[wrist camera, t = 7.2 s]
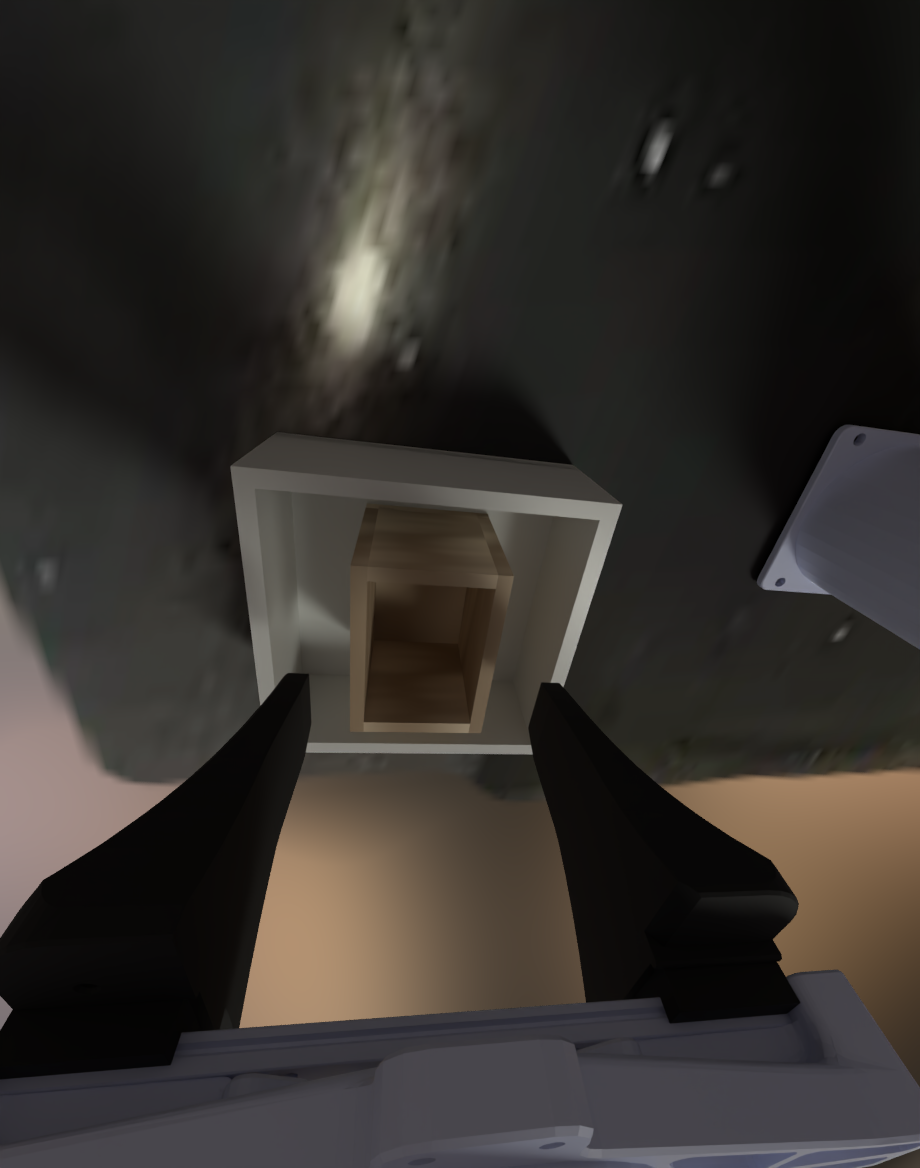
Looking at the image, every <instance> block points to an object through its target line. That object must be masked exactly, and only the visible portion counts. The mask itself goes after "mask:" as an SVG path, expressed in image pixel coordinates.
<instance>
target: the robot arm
mask: <svg viewBox="0 0 920 1168" xmlns="http://www.w3.org/2000/svg"><path fill="white" fill-rule="evenodd" d="M857 435H858V437H857V439H856V440H855V442H854V439H855V438H856V436H857ZM778 579H779V580H778ZM777 580H778V581H777ZM776 581H777V582H776ZM757 584H758V585H759V586H760V587H761V588H763V589H765V590H777V591H791V592H805V593H819V594H831V595H833V596H834V597H836V598H838V599H839V600H841V601H843V602H844V603H846V604H847V605H849V606H851V607H852V608H854V609H855V610H857V611H859V612H860V613H862V614H864V615H865V616H867V617H868V618H870V619H872V620H873V621H875V622H876V623H878V624H880V625H881V626H883V627H885V628H886V629H888V630H889V631H891V632H893V633H894V634H896V635H897V636H899V637H901V638H902V639H904V640H905V641H907V642H909V643H910V644H912V645H914V646H915V647H917V648H918V649H920V434H914V433H906V432H899V431H892V430H885V429H878V428H870V427H863V426H856V425H844V426H842V427H840V428H839V429H838V430H836V431H835V433H834V434H833V436H832V438H831V440H830V442H829V443H828V445H827V447H826V449H825V451H824V453H823V455H822V457H821V459H820V461H819V462H818V464H817V466H816V468H815V470H814V472H813V474H812V476H811V478H810V480H809V482H808V483H807V485H806V487H805V489H804V491H803V493H802V495H801V497H800V499H799V501H798V502H797V504H796V506H795V508H794V510H793V512H792V514H791V516H790V518H789V520H788V521H787V523H786V525H785V527H784V529H783V531H782V533H781V535H780V537H779V539H778V540H777V542H776V544H775V546H774V548H773V550H772V552H771V554H770V556H769V558H768V559H767V561H766V563H765V565H764V567H763V569H762V571H761V573H760V575H759V577H758V579H757ZM311 723H312V722H311V702H310V682H309V674H303V673H287V674H286V675H284V677H283V678H282V679H281V681H280V682H279V683H278V685H277V686H276V687H275V688H274V690H273V691H272V692H271V694H270V695H269V696H268V697H267V698H266V700H265V701H264V702H263V703H262V705H261V706H260V707H259V708H258V709H257V710H256V711H255V713H254V714H253V715H252V716H251V717H250V718H249V719H248V721H247V722H246V723H245V724H244V725H243V726H242V727H241V728H240V729H239V731H238V732H237V733H236V734H235V735H234V736H233V737H232V738H231V739H230V740H229V741H228V742H227V743H226V744H225V745H224V746H223V747H222V748H221V749H220V750H219V751H218V752H217V753H216V754H215V755H214V756H213V757H212V758H211V759H210V760H209V761H207V762H206V763H205V764H204V765H203V766H202V767H201V768H200V769H199V770H198V771H196V772H195V773H194V774H193V775H192V776H191V777H190V778H189V779H187V780H186V781H185V782H184V783H183V784H181V785H180V786H179V787H178V788H176V789H175V790H174V791H173V792H172V793H170V794H169V795H168V796H167V797H166V798H164V799H163V800H162V801H160V802H159V803H158V804H157V805H155V806H154V807H153V808H151V809H150V810H149V811H147V812H146V813H145V814H143V815H142V816H140V817H139V818H138V819H136V820H135V821H134V822H132V823H131V824H129V825H128V826H127V827H125V828H124V829H122V830H121V831H119V832H118V833H117V834H115V835H114V836H112V837H111V838H109V839H108V840H107V841H105V842H104V843H102V844H101V845H99V846H98V847H96V848H94V849H93V850H91V851H90V852H88V853H86V854H85V855H83V856H82V857H80V858H79V859H77V860H75V861H74V862H72V863H70V864H69V865H67V866H66V867H64V868H63V869H61V870H59V871H58V872H56V873H54V874H53V875H51V876H50V877H48V878H46V879H44V880H43V881H42V882H41V884H40V885H39V886H38V888H37V889H36V890H35V891H34V893H33V894H32V895H31V896H30V897H29V899H28V900H27V901H26V902H25V904H24V905H23V906H22V908H21V909H20V910H19V912H18V913H17V914H16V916H15V917H14V919H13V920H12V922H11V923H10V925H9V926H8V928H7V929H6V930H5V932H4V933H3V935H2V937H1V938H0V996H1V997H2V998H3V999H4V1000H5V1001H6V1002H7V1004H8V1005H9V1006H10V1007H11V1008H12V1009H13V1010H12V1012H11V1014H10V1015H9V1017H8V1018H7V1020H6V1022H5V1024H4V1025H3V1027H2V1029H1V1030H0V1168H861V1167H868V1166H873V1165H876V1164H879V1163H882V1162H884V1161H887V1160H890V1159H892V1158H895V1157H898V1156H900V1155H903V1154H906V1153H908V1152H911V1151H914V1150H916V1149H919V1148H920V1087H919V1086H918V1084H917V1083H916V1081H915V1080H914V1078H913V1077H912V1076H911V1074H910V1073H909V1071H908V1070H907V1068H906V1067H905V1065H904V1064H903V1062H902V1061H901V1059H900V1058H899V1056H898V1055H897V1053H896V1052H895V1051H894V1049H893V1047H892V1046H891V1044H890V1043H889V1041H888V1040H887V1038H886V1037H885V1035H884V1034H883V1032H882V1031H881V1029H880V1028H879V1026H878V1025H877V1023H876V1022H875V1020H874V1019H873V1017H872V1016H871V1014H870V1013H869V1011H868V1010H867V1009H866V1007H865V1006H864V1004H863V1002H862V1001H861V1000H860V998H859V997H858V995H857V994H856V992H855V991H854V989H853V988H852V986H851V985H850V983H849V982H848V980H847V979H846V977H845V976H844V974H843V973H842V972H841V971H839V970H825V971H811V972H800V973H794V974H792V975H789V976H787V977H785V975H784V973H783V972H782V970H781V968H780V966H779V965H778V963H777V961H780V960H781V959H782V957H781V953H780V951H779V950H778V948H777V946H776V945H775V943H774V941H773V938H774V937H775V936H776V935H777V934H778V933H779V932H780V931H781V930H782V929H784V927H786V926H787V924H788V923H790V922H791V920H792V919H793V918H794V916H795V915H796V913H797V910H798V905H799V903H798V900H797V898H796V896H795V895H794V894H793V892H792V891H791V889H790V887H789V886H788V885H787V883H786V882H785V880H784V879H783V877H782V876H781V874H780V873H779V872H778V870H777V868H776V867H775V866H774V864H773V863H772V862H771V860H769V859H767V858H766V857H764V856H763V855H761V854H759V853H758V852H756V851H754V850H752V849H751V848H749V847H747V846H746V845H744V844H742V843H741V842H739V841H737V840H736V839H734V838H732V837H730V836H729V835H727V834H726V833H724V832H723V831H721V830H720V829H718V828H717V827H715V826H713V825H712V824H711V823H709V822H708V821H706V820H705V819H703V818H702V817H700V816H699V815H698V814H696V813H695V812H693V811H692V810H691V809H689V808H688V807H686V806H685V805H684V804H683V803H681V802H680V801H678V800H677V799H676V798H674V797H673V796H672V795H671V794H669V793H668V792H667V791H666V790H664V789H663V788H662V787H661V786H659V785H658V784H657V783H656V782H655V781H653V780H652V779H651V778H650V777H649V776H648V775H646V774H645V773H644V772H643V771H642V770H641V769H640V768H638V767H637V766H636V765H635V764H634V763H633V762H632V761H631V760H630V759H629V758H628V757H627V756H626V755H625V754H624V753H623V752H622V751H621V750H620V749H619V748H618V747H617V746H616V745H614V743H613V742H612V741H611V740H610V739H609V738H608V737H607V736H606V735H605V734H604V733H603V732H602V731H601V730H600V729H599V728H598V727H597V725H596V724H595V723H594V722H593V721H592V720H591V719H590V718H589V717H588V715H587V714H586V713H585V712H584V711H583V710H582V709H581V707H580V706H579V705H578V704H577V703H576V702H575V700H574V699H573V698H572V697H571V696H570V695H569V693H568V692H567V691H566V690H565V689H564V688H563V686H562V685H561V684H560V683H547V682H541V685H540V688H539V692H538V695H537V699H536V702H535V705H534V709H533V712H532V716H531V719H530V723H529V726H528V730H529V736H530V742H531V748H532V753H533V758H534V762H535V765H536V768H537V772H538V775H539V778H540V782H541V785H542V788H543V791H544V794H545V798H546V801H547V804H548V807H549V810H550V814H551V817H552V820H553V823H554V827H555V830H556V834H557V838H558V842H559V846H560V851H561V855H562V861H563V865H564V870H565V874H566V880H567V886H568V891H569V896H570V901H571V907H572V912H573V918H574V924H575V930H576V936H577V943H578V949H579V955H580V962H581V969H582V976H583V983H584V990H585V997H586V1003H576V1004H563V1005H548V1006H535V1007H521V1008H508V1009H495V1010H481V1011H467V1012H454V1013H440V1014H427V1015H413V1016H400V1017H386V1018H372V1019H359V1020H346V1021H333V1022H319V1023H305V1024H291V1025H279V1026H264V1027H252V1028H251V1027H250V1028H239V1025H240V1020H241V1015H242V1009H243V1004H244V999H245V994H246V988H247V983H248V978H249V972H250V967H251V963H252V958H253V952H254V948H255V943H256V938H257V932H258V928H259V923H260V918H261V914H262V909H263V904H264V900H265V894H266V890H267V886H268V881H269V877H270V872H271V868H272V863H273V859H274V855H275V850H276V846H277V842H278V839H279V835H280V832H281V828H282V825H283V822H284V819H285V816H286V813H287V810H288V807H289V804H290V800H291V798H292V795H293V791H294V788H295V785H296V782H297V779H298V776H299V773H300V770H301V767H302V763H303V760H304V757H305V753H306V748H307V743H308V738H309V733H310V728H311Z"/></svg>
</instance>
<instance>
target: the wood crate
mask: <svg viewBox="0 0 920 1168" xmlns="http://www.w3.org/2000/svg"><path fill="white" fill-rule="evenodd" d="M513 579H514V575H513V573H512V570H511V568H510V566H509V563H508V561H507V558H506V556H505V554H504V551H503V549H502V547H501V544H500V542H499V540H498V537H497V535H496V533H495V530H494V528H493V525H492V523H491V521H490V518H489V516H488V514H485V513H473V512H461V511H450V510H438V509H427V508H415V507H403V506H392V505H380V504H369V503H367V505H366V508H365V512H364V516H363V520H362V524H361V527H360V531H359V535H358V539H357V542H356V546H355V550H354V554H353V558H352V561H351V565H350V732H424V733H481V731H482V726H483V721H484V716H485V712H486V707H487V702H488V697H489V693H490V688H491V683H492V679H493V674H494V669H495V664H496V660H497V655H498V650H499V645H500V641H501V636H502V631H503V626H504V622H505V617H506V612H507V607H508V603H509V598H510V593H511V588H512V584H513Z"/></svg>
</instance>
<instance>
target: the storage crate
mask: <svg viewBox="0 0 920 1168" xmlns="http://www.w3.org/2000/svg"><path fill="white" fill-rule="evenodd" d="M230 467H231V475H232V483H233V491H234V499H235V507H236V515H237V523H238V531H239V539H240V547H241V555H242V563H243V571H244V579H245V587H246V595H247V603H248V611H249V619H250V627H251V635H252V642H253V650H254V658H255V666H256V674H257V682H258V690H259V698H260V706H261V705H262V703H263V702H264V701H265V700H266V698H267V697H268V696H269V695H270V694H271V692H272V691H273V690H274V688H275V687H276V686H277V685H278V683H279V682H280V681H281V679H282V678H283V677H284V675H286V674H287V673H303V674H309V682H310V702H311V722H312V723H311V728H310V733H309V738H308V743H307V748H306V752H315V753H444V754H533V753H532V748H531V742H530V736H529V730H528V726H529V723H530V719H531V716H532V712H533V709H534V705H535V702H536V699H537V695H538V692H539V688H540V685H541V682H547V683H560V684H561V685H562V686H563V687H564V684H565V680H566V677H567V674H568V671H569V668H570V665H571V662H572V659H573V656H574V653H575V650H576V646H577V643H578V640H579V637H580V634H581V631H582V628H583V625H584V622H585V619H586V616H587V613H588V609H589V606H590V603H591V600H592V597H593V594H594V591H595V588H596V585H597V582H598V579H599V575H600V572H601V569H602V566H603V563H604V560H605V557H606V554H607V551H608V548H609V545H610V542H611V538H612V535H613V532H614V529H615V526H616V523H617V520H618V517H619V514H620V511H621V508H622V504H621V503H620V502H619V501H617V500H616V499H615V498H614V497H612V496H611V495H610V494H609V493H607V492H606V491H605V490H604V489H602V488H601V487H600V486H599V485H598V484H596V483H595V482H594V481H593V480H591V479H590V478H589V477H588V476H586V475H585V474H584V473H583V472H581V471H580V470H579V469H578V468H576V467H575V466H574V465H569V464H560V463H551V462H542V461H533V460H524V459H515V458H506V457H497V456H488V455H480V454H471V453H462V452H453V451H444V450H435V449H426V448H417V447H408V446H399V445H390V444H381V443H372V442H363V441H354V440H345V439H336V438H327V437H318V436H309V435H300V434H291V433H282V432H276V433H275V434H274V435H272V436H271V437H269V438H268V439H267V440H265V441H264V442H263V443H261V444H260V445H258V446H257V447H256V448H254V449H253V450H252V451H250V452H249V453H247V454H246V455H245V456H243V457H242V458H241V459H239V460H238V461H236V462H235V463H234V464H232V465H231V466H230ZM367 503H369V504H380V505H392V506H403V507H415V508H427V509H438V510H450V511H461V512H473V513H485V514H488V516H489V518H490V521H491V523H492V525H493V528H494V530H495V533H496V535H497V537H498V540H499V542H500V544H501V547H502V549H503V551H504V554H505V556H506V558H507V561H508V563H509V566H510V568H511V570H512V573H513V575H514V579H513V584H512V588H511V593H510V598H509V603H508V607H507V612H506V617H505V622H504V626H503V631H502V636H501V641H500V645H499V650H498V655H497V660H496V664H495V669H494V674H493V679H492V683H491V688H490V693H489V697H488V702H487V707H486V712H485V716H484V721H483V726H482V731H481V733H424V732H350V565H351V561H352V558H353V554H354V550H355V546H356V542H357V539H358V535H359V531H360V527H361V524H362V520H363V516H364V512H365V508H366V505H367Z"/></svg>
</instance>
